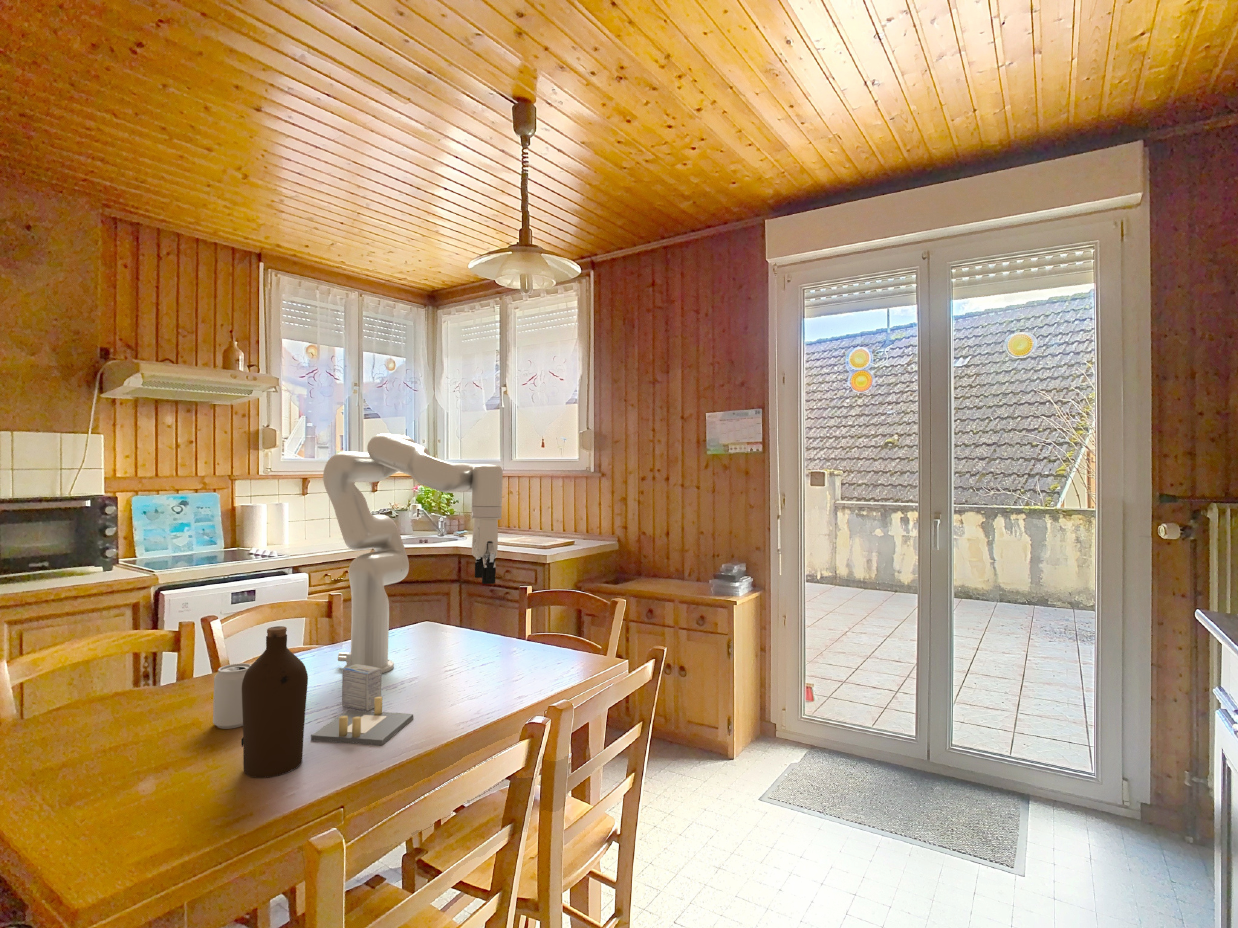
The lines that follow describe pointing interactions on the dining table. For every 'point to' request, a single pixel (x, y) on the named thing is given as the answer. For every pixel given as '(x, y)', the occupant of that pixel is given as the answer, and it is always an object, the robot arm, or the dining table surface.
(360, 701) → the medicine box
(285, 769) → the olive oil
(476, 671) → the dining table surface
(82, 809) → the dining table surface
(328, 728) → the pin board
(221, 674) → the can
